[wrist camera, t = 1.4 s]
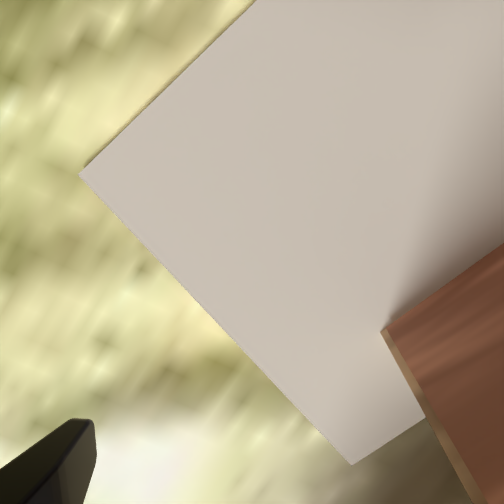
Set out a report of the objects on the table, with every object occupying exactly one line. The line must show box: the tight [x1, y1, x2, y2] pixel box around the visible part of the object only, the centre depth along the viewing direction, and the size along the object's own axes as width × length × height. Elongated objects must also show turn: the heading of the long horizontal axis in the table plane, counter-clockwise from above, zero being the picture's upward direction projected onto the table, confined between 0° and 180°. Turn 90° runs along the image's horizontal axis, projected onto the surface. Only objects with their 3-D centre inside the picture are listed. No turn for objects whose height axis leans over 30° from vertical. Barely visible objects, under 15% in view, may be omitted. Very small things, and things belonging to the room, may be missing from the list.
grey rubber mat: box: [78, 0, 504, 466], centre depth 21 cm, size 21×20×1 cm
